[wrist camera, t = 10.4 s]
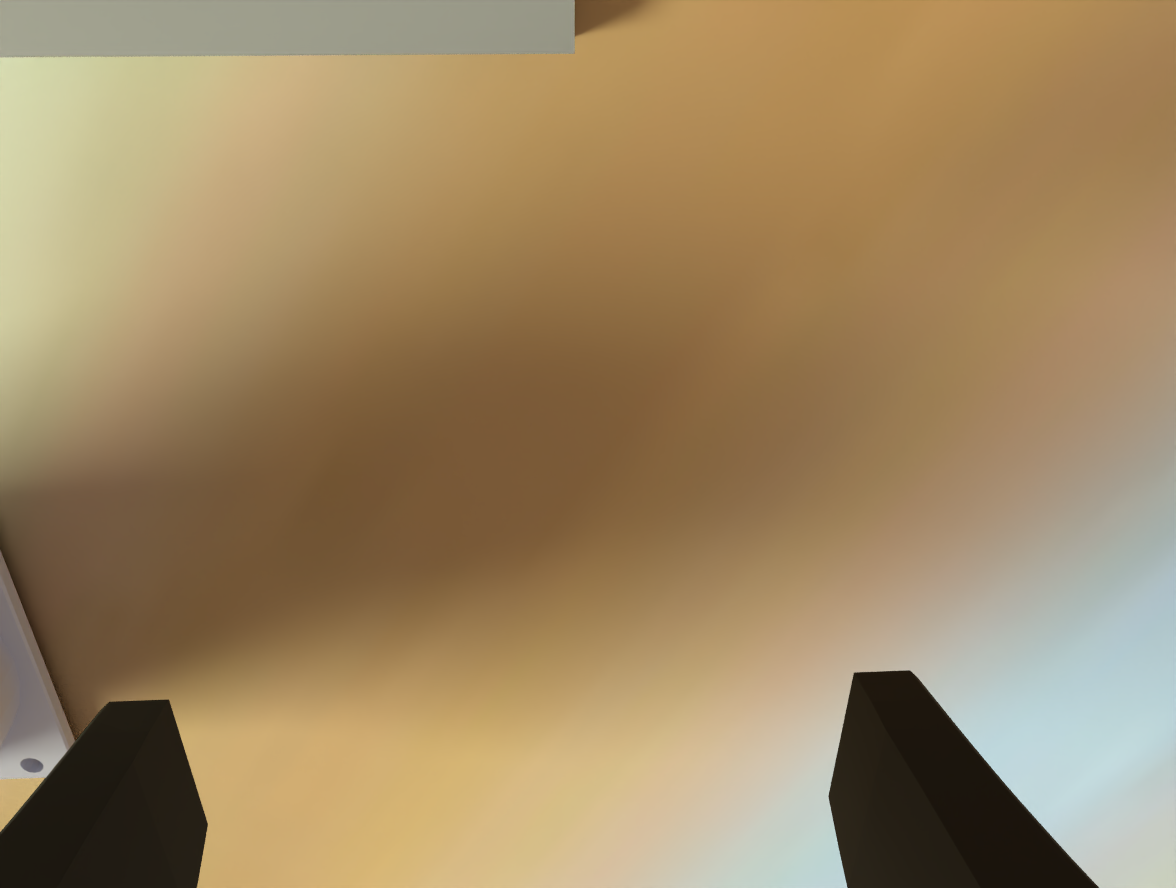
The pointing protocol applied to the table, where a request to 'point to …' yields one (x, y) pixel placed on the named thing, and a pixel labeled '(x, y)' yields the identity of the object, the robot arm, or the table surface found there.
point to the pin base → (284, 27)
